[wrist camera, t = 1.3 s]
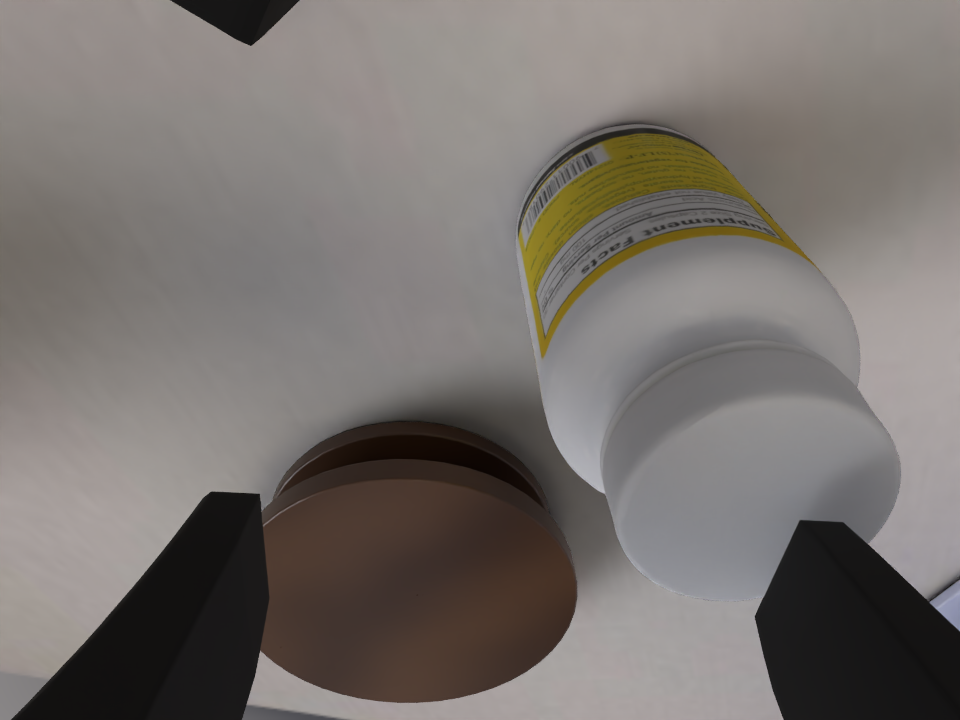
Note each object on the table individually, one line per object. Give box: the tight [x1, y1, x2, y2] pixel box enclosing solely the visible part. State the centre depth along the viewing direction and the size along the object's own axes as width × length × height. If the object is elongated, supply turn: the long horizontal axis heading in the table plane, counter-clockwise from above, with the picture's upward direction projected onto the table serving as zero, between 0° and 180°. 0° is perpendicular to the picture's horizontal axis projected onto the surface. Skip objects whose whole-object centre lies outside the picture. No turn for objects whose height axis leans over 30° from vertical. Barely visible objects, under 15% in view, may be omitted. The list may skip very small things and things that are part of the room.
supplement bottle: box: [515, 124, 901, 601], centre depth 15 cm, size 5×5×10 cm
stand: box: [260, 422, 577, 703], centre depth 23 cm, size 10×10×3 cm
